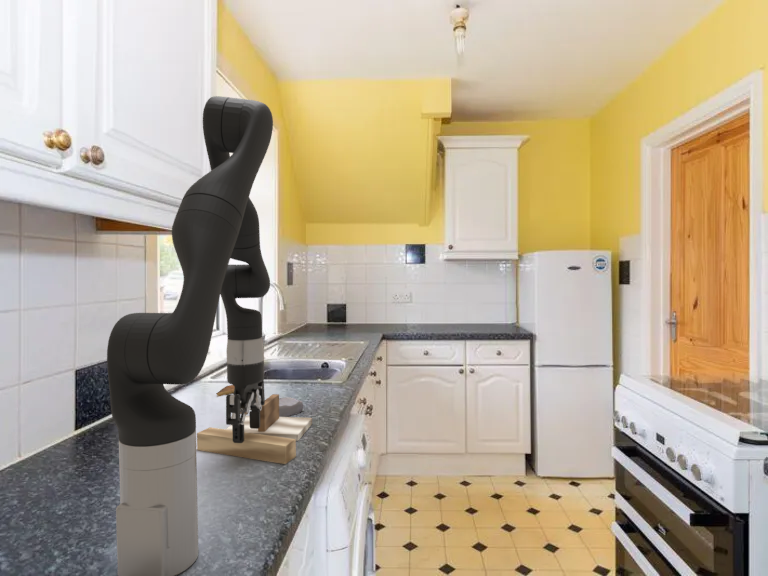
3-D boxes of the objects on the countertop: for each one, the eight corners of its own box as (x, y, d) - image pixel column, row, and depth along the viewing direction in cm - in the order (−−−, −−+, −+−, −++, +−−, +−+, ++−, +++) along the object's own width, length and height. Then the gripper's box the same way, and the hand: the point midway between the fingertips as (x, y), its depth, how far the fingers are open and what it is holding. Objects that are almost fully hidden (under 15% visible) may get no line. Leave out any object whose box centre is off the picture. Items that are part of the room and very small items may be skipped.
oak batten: (285, 465, 95) (285, 446, 95) (197, 451, 102) (197, 433, 102) (295, 458, 99) (295, 439, 98) (210, 444, 106) (209, 427, 106)
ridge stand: (298, 441, 107) (297, 408, 107) (222, 438, 110) (221, 405, 109) (312, 423, 119) (311, 394, 119) (243, 421, 121) (243, 392, 121)
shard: (216, 398, 145) (216, 392, 145) (206, 393, 151) (206, 387, 151) (249, 392, 152) (249, 386, 152) (239, 387, 158) (239, 382, 158)
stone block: (247, 423, 126) (272, 423, 120) (245, 405, 126) (270, 403, 121) (282, 414, 135) (306, 413, 130) (280, 397, 136) (304, 395, 130)
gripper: (248, 367, 92) (250, 448, 93) (274, 353, 106) (276, 424, 107) (212, 366, 93) (214, 447, 94) (242, 352, 107) (244, 423, 108)
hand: (247, 434), depth 101 cm, fingers open, 8 cm apart
